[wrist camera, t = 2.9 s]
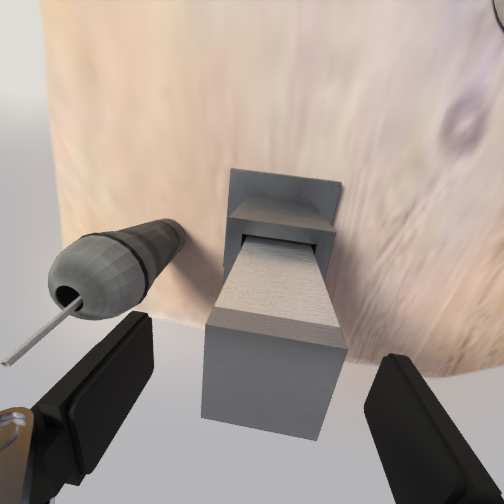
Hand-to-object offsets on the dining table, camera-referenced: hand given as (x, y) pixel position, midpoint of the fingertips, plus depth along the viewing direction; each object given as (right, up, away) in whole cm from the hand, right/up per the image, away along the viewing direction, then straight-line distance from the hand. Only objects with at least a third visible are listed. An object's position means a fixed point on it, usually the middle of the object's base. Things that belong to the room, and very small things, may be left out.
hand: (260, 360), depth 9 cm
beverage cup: (-11, +7, +21) cm, 25 cm away
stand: (+3, +8, +19) cm, 21 cm away
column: (+3, +7, +18) cm, 19 cm away
